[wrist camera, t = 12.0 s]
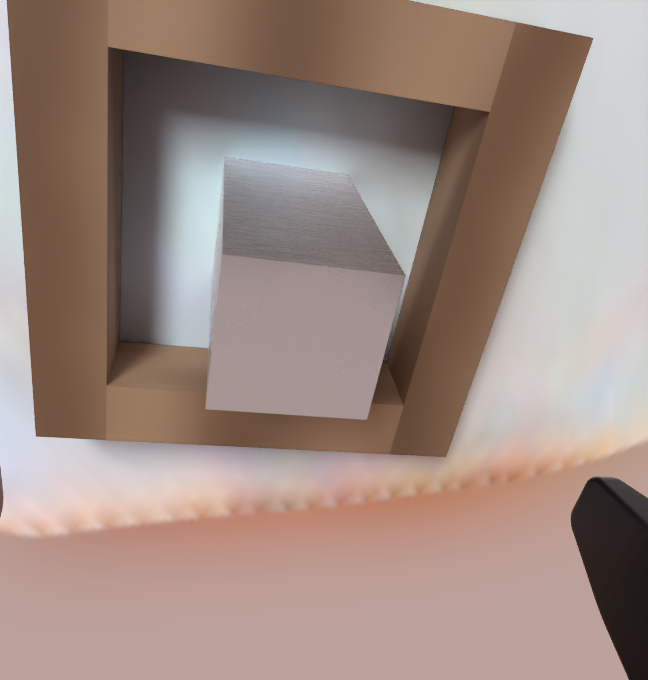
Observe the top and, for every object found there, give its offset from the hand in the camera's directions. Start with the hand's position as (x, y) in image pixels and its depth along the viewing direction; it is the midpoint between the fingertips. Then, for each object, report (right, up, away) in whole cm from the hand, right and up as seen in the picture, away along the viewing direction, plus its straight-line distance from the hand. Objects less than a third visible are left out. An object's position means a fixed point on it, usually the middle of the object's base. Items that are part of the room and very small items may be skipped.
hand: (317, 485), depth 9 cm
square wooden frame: (-1, +6, +9) cm, 11 cm away
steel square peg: (-1, +6, +9) cm, 11 cm away
